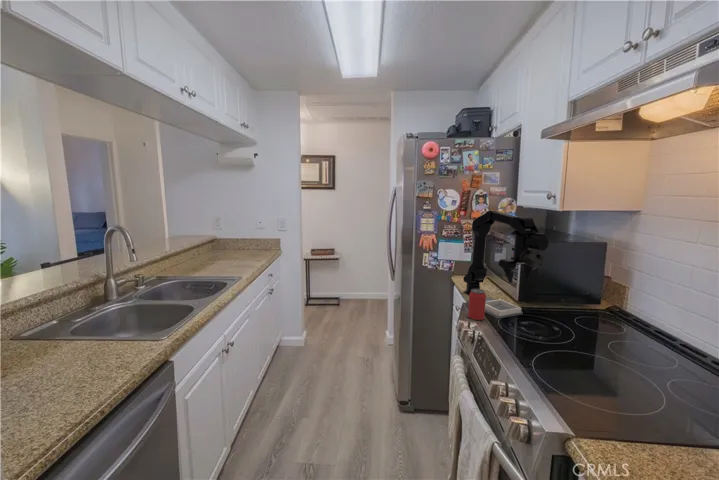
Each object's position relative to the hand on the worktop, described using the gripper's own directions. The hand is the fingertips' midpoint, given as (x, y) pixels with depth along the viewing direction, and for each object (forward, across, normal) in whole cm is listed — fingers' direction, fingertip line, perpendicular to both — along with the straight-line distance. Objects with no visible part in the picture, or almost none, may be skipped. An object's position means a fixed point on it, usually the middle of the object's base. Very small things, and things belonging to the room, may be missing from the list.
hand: (518, 281), depth 138 cm
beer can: (+15, -20, +2) cm, 25 cm away
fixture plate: (+14, -5, +8) cm, 17 cm away
